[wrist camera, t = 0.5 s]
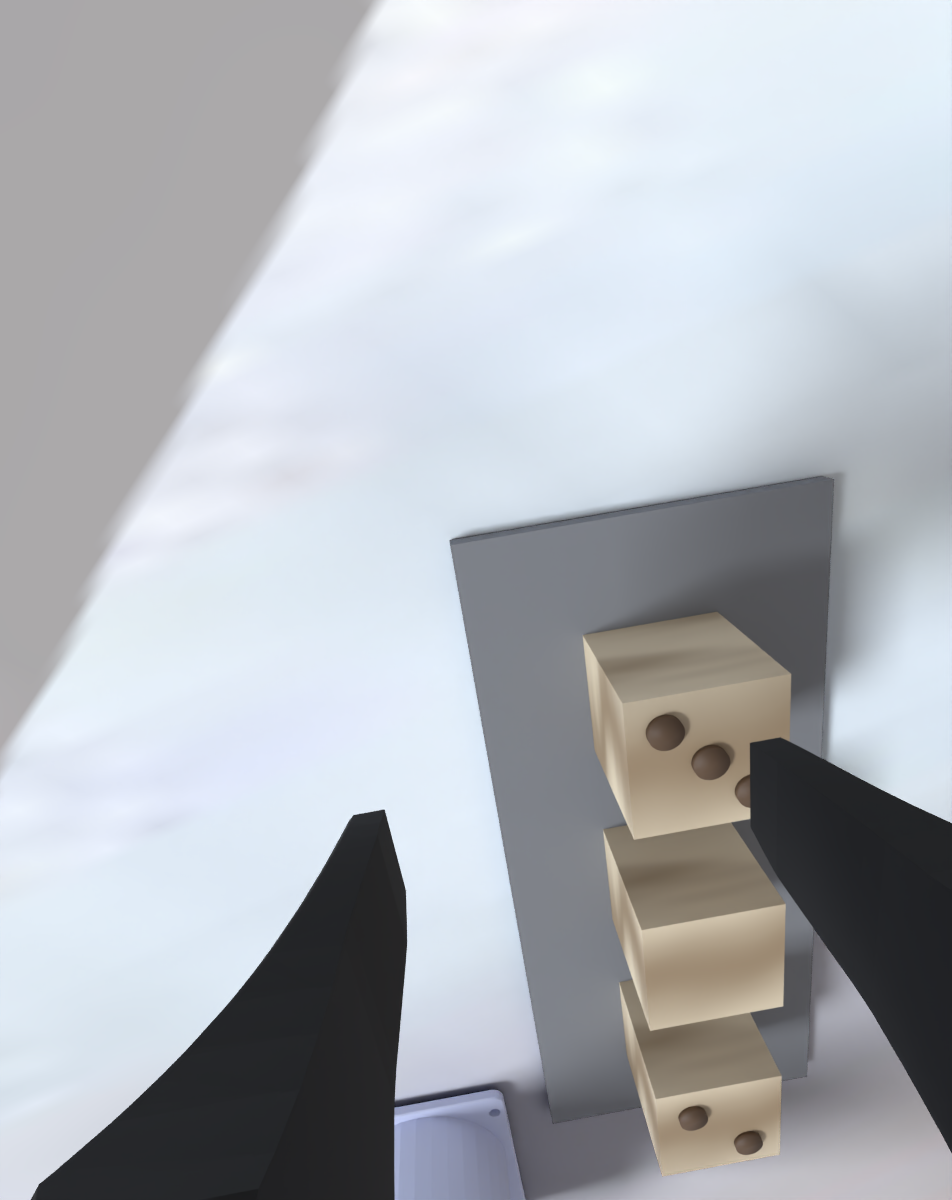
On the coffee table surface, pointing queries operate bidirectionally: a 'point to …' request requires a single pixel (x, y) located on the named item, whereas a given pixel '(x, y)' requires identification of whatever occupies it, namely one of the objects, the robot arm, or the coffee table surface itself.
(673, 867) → the plain block
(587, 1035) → the slate mat
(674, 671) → the three pip block
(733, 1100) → the two pip block
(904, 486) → the coffee table surface
